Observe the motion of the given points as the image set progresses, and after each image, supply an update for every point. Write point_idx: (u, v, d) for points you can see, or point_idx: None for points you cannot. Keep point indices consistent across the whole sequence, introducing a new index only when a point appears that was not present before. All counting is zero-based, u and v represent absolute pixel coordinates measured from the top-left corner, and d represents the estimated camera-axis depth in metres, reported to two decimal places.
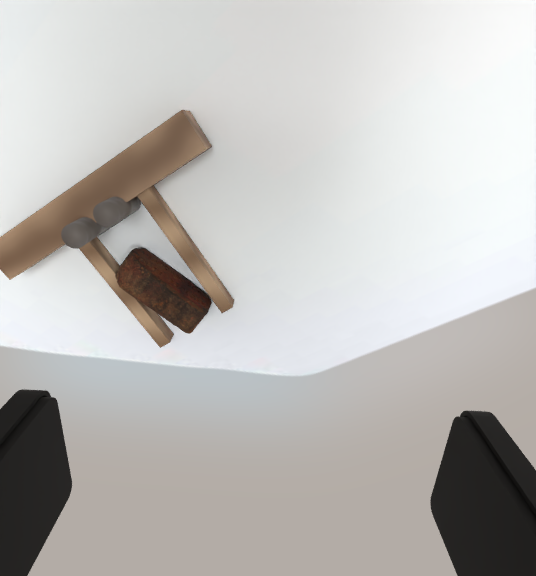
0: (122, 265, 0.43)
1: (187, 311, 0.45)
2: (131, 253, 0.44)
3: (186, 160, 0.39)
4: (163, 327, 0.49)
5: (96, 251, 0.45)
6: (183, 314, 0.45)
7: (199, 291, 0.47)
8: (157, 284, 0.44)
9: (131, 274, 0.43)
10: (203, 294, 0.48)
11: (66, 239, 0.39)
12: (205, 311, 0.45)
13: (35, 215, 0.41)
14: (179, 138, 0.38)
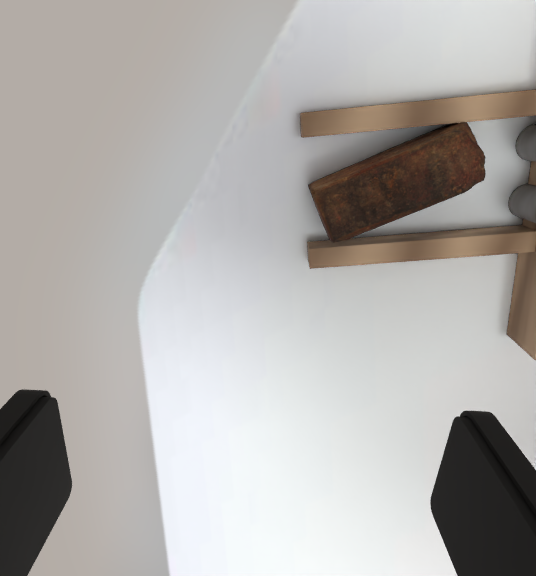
0: (482, 159, 0.25)
1: (354, 217, 0.26)
2: (482, 179, 0.26)
3: None
4: None
5: (515, 115, 0.26)
6: (352, 208, 0.26)
7: None
8: (423, 199, 0.25)
9: (464, 168, 0.25)
10: None
11: None
12: (336, 241, 0.27)
13: None
14: None
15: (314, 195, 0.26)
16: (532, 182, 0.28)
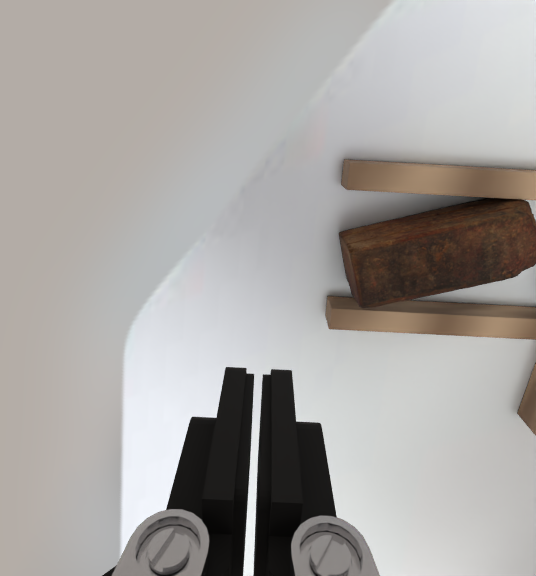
0: None
1: (390, 285, 0.23)
2: (531, 265, 0.24)
3: None
4: None
5: None
6: (391, 275, 0.23)
7: None
8: (469, 278, 0.23)
9: (520, 253, 0.22)
10: None
11: None
12: None
13: None
14: None
15: (351, 254, 0.22)
16: None
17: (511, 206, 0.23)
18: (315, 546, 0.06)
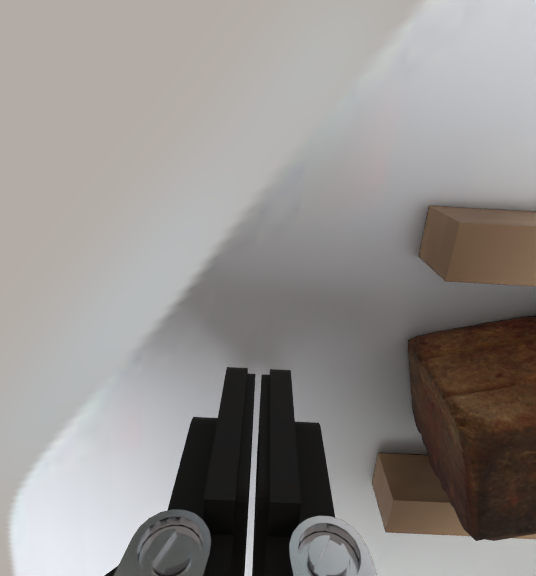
0: None
1: None
2: None
3: None
4: None
5: None
6: None
7: None
8: None
9: None
10: None
11: None
12: None
13: None
14: None
15: (466, 436, 0.09)
16: None
17: None
18: (313, 546, 0.06)
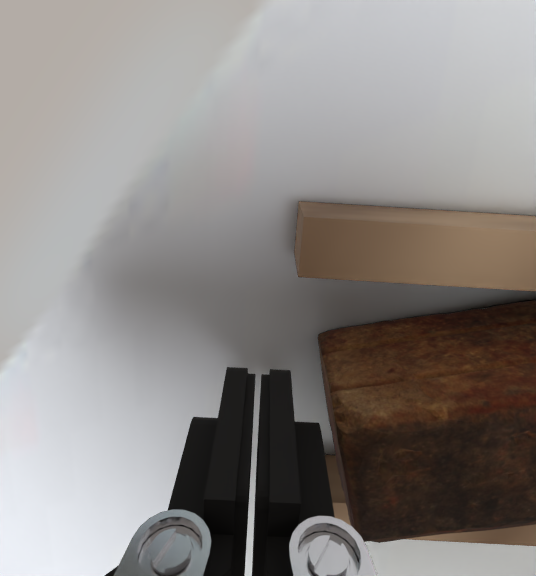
0: None
1: (433, 507, 0.09)
2: None
3: None
4: None
5: None
6: (438, 487, 0.09)
7: None
8: None
9: None
10: None
11: None
12: None
13: None
14: None
15: (341, 431, 0.09)
16: None
17: None
18: (313, 546, 0.06)
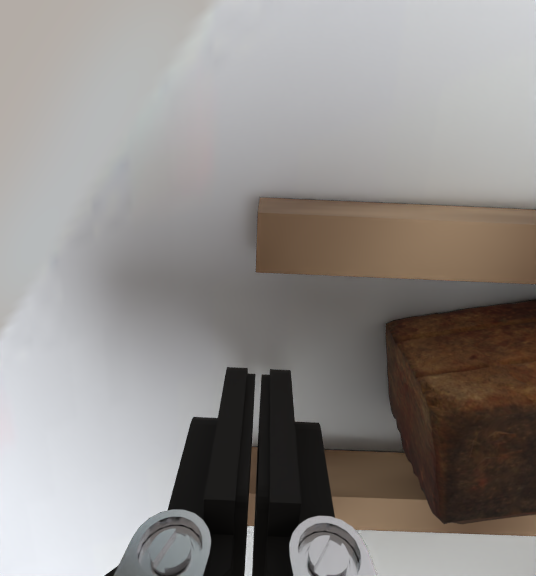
0: None
1: (520, 488, 0.09)
2: None
3: None
4: None
5: None
6: (527, 469, 0.09)
7: None
8: None
9: None
10: None
11: None
12: None
13: None
14: None
15: (436, 415, 0.09)
16: None
17: None
18: (313, 546, 0.06)
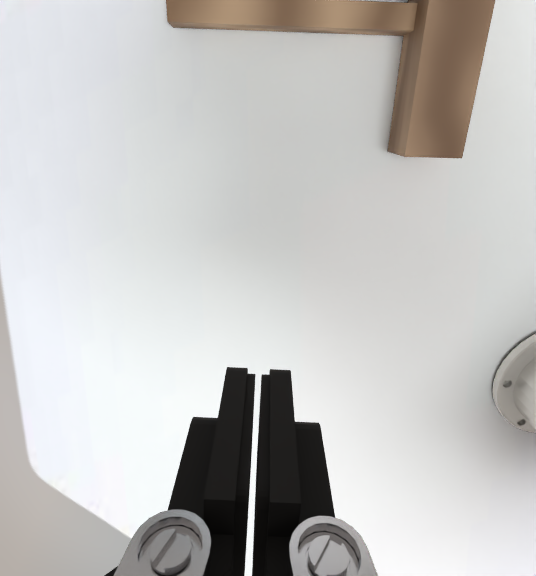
0: None
1: None
2: None
3: (412, 121, 0.27)
4: None
5: None
6: None
7: None
8: None
9: None
10: None
11: None
12: None
13: None
14: (439, 131, 0.27)
15: None
16: None
17: None
18: (313, 546, 0.06)
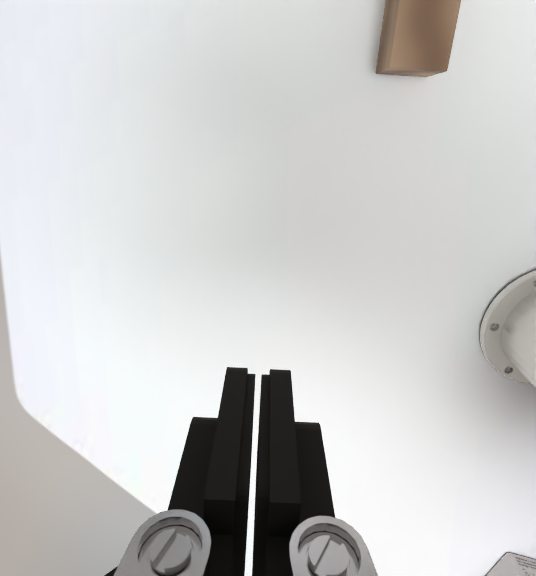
0: None
1: None
2: None
3: (397, 29, 0.27)
4: None
5: None
6: None
7: None
8: None
9: None
10: None
11: None
12: None
13: None
14: (424, 41, 0.27)
15: None
16: None
17: None
18: (313, 546, 0.06)
